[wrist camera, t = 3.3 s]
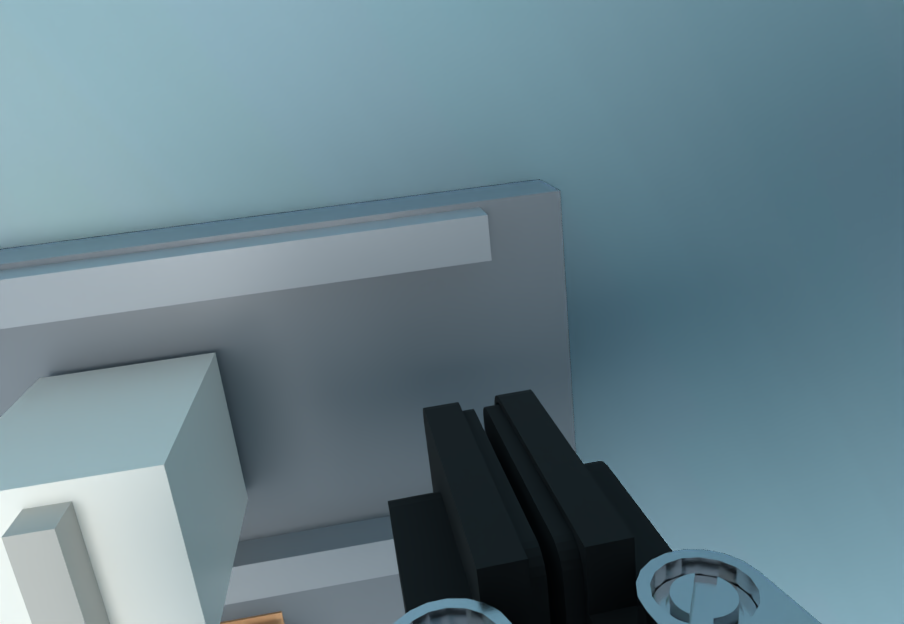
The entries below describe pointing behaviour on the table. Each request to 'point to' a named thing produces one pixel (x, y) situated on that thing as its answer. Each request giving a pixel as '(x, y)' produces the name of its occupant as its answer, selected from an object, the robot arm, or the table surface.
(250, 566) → the grey compartment tray
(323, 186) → the table surface
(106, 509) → the white block
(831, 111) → the table surface
